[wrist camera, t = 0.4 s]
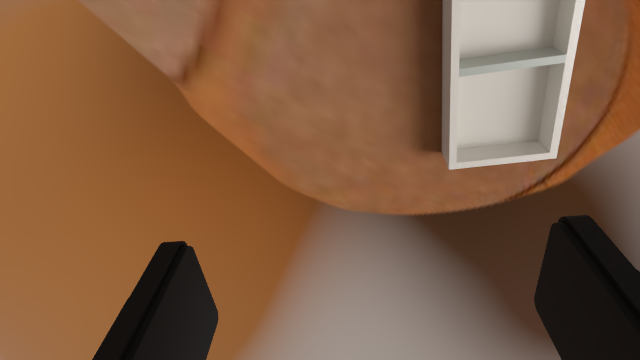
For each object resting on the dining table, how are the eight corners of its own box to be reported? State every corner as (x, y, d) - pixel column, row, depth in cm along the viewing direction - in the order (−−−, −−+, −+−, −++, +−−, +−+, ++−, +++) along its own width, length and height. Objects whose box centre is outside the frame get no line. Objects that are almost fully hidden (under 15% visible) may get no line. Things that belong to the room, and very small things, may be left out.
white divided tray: (442, -57, 37) (453, -55, 34) (575, -80, 35) (599, -81, 32) (441, 152, 49) (449, 169, 45) (541, 141, 47) (556, 158, 44)
